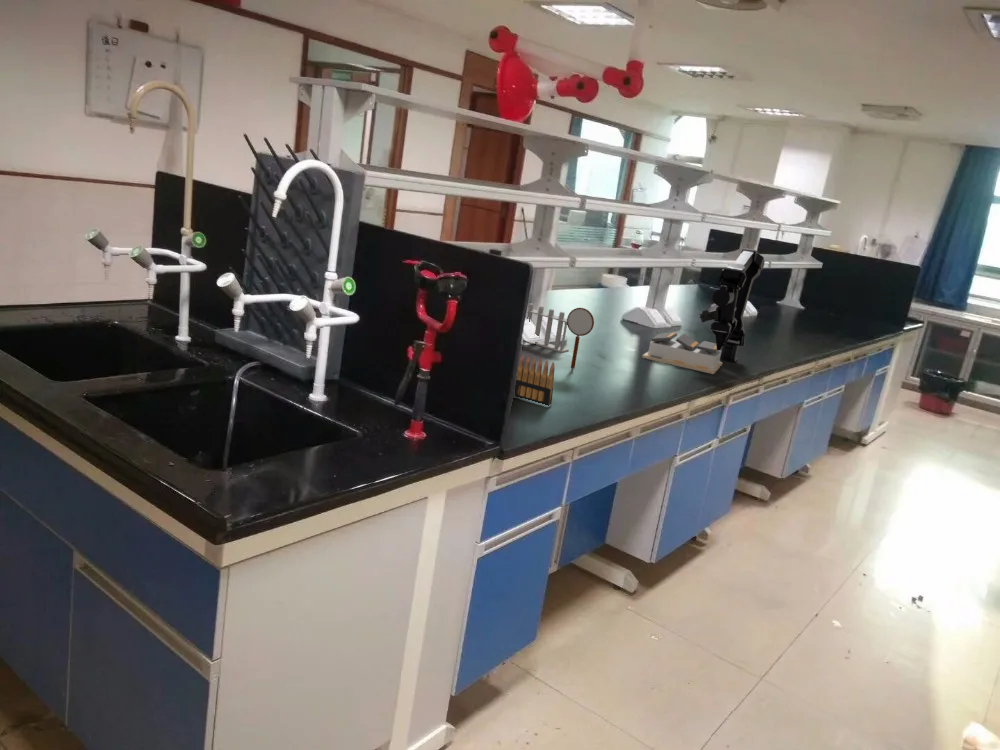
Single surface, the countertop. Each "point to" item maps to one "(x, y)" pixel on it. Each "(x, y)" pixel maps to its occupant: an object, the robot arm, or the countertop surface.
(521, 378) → the ammunition clip
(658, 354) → the switch unit
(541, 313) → the grey picket fence
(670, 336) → the switch
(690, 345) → the switch middle
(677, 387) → the countertop surface
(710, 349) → the switch
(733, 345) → the robot arm
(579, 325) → the magnifying glass
